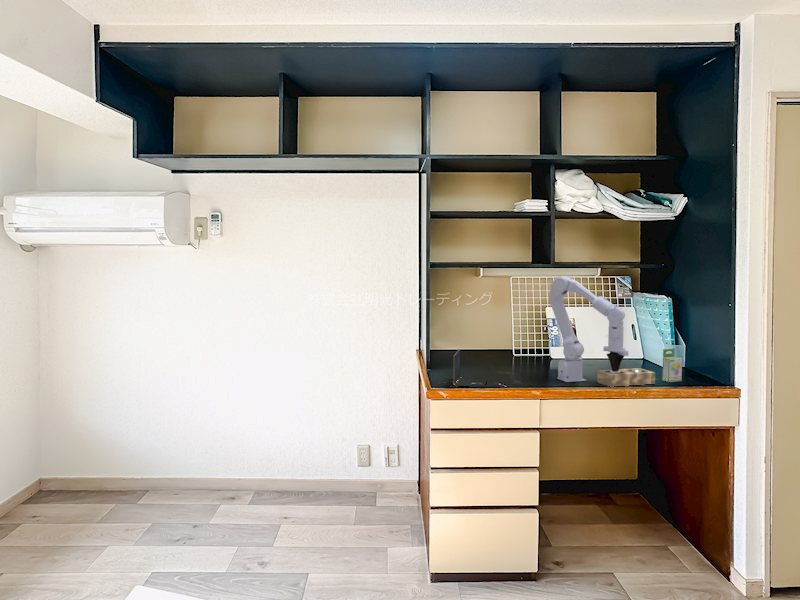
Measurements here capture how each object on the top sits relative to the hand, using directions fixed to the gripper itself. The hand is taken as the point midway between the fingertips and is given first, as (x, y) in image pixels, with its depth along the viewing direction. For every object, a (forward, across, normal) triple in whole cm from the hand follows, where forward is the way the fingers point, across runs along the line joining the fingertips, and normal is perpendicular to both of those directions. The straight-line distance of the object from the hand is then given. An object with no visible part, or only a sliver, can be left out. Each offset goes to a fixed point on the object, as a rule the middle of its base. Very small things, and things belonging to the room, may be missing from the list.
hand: (615, 371), depth 251 cm
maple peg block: (+5, 0, -5) cm, 7 cm away
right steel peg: (+5, 0, -10) cm, 11 cm away
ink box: (+6, -1, -26) cm, 27 cm away
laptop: (+6, +17, +56) cm, 59 cm away
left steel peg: (+5, 0, 0) cm, 5 cm away
